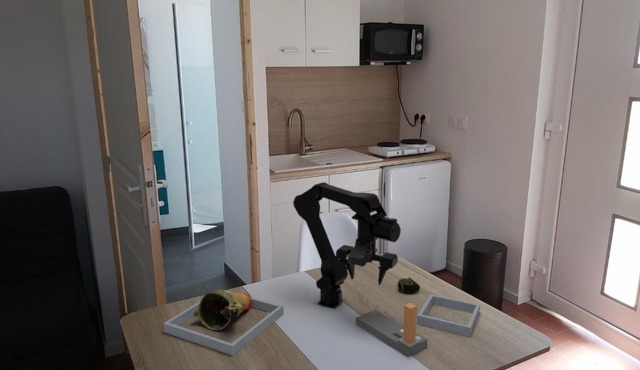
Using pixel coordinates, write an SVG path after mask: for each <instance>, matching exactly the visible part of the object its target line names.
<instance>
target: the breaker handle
mask: <svg viewBox="0 0 640 370" xmlns="http://www.w3.org/2000/svg"><path fill="white" fill-rule="evenodd" d="M417 310H418V309H417V305H415V304H413V303H412V302H409V303H406V304H404V305H403V321H402V323H403V324H402V325H403V337H402V338H400V339H398V341H399V342H401V343H402V344H404V345H405V346H407V347H409V348H410V347H412V346H414V345H416V344H418V343H420V341H419V340H418V339H416V338H415V333H417V331H416V330H417Z"/></svg>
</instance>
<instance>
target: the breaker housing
mask: <svg viewBox="0 0 640 370" xmlns="http://www.w3.org/2000/svg"><path fill="white" fill-rule="evenodd" d="M355 325H356V326H358V327H360V328H361V329H363V330H364V331H365V332H368V333H369V334H370V335H372V336H374V337H375V338H377V339H379V340H380V341H381V342H383V343H384V344H386V345H388V346H389V347H391V348H392V349H394V350H396V351H397V352H399V353H401V354H402V355H404V356H405V357H407V358H408V357H410V356H413V355H414V354H417V353H419V352H420V351H422V350H424V349H426V348H428V340H429V339H428V338H426V337H425V336H423V335H421V334H419V333H417V332H416V333H415V338H416V339H418V340H419V341H420V343H418V344H416V345H414V346H412V347H410V348H409V347H407V346H405V345H404V344H402V343H401V342H399V341H398V339H400V338H402V337H403V324H401V323H400V322H398V321H396V320H395V319H393V318H391V317H389V316H388V315H386V314H384V313H382V312H380V311H378V310H377V309H373V310H371V311H368V312H365V313H364V314H360V315H357V316H356V317H355Z"/></svg>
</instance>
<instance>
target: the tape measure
mask: <svg viewBox="0 0 640 370" xmlns="http://www.w3.org/2000/svg"><path fill="white" fill-rule="evenodd" d="M420 288H421V285H419V283H417V282H416V281H415V280H413V279H412V278H411V277H407V278H404V277H403V278H400V279H399V280H398V282H397V289H398V291H400V292H402V293H405V294H412V293H416V292H419V291H420Z"/></svg>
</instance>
